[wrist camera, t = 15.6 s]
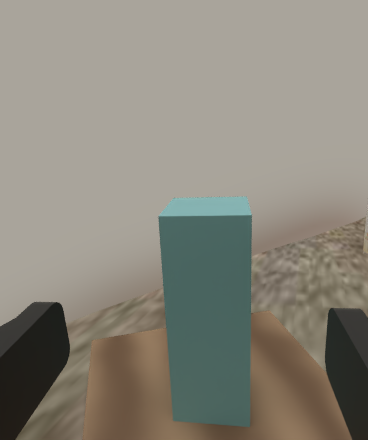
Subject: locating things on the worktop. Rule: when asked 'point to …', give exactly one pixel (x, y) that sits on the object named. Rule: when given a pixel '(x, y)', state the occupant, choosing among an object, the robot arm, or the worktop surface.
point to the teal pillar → (208, 307)
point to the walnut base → (200, 432)
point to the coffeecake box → (366, 236)
